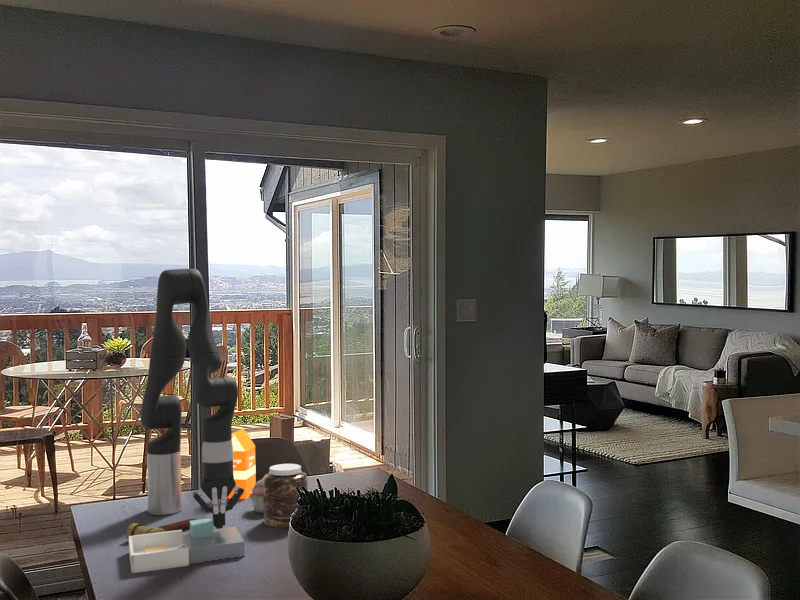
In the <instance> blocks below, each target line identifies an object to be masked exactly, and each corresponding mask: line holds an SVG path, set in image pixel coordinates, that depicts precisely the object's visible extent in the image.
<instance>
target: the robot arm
mask: <svg viewBox="0 0 800 600" xmlns="http://www.w3.org/2000/svg"><path fill="white" fill-rule="evenodd" d="M183 304H186V305H187V304H192V306H193V309H194V310H193V311H194V317H193V321H192V324H191V327H190V329H189V332H188V335H187V340H186V338H185V335H184V333H183V331H182V330H181V328H180V327H179V326H178V323H177V321H175V318H174V314H173V310H174V309H173V308H174V306H175V305H183ZM210 315H211V314H210V309H209V302H208V297H207V290H206V285H205V281H204V279H203V275H202V274H201V272H200V271H199V270H198V269H197V268H174V269H165V270H162V272H161V273H160V275H159V277H158V282H157V291H156V312H155V323H154V330H153V336H152V342H151V347H150V353H149V354H150V355H149V365H148V372H147V380H146V383H145V384H146V385H145V390H144V393H143V397H142V402H141V407H140V422H141V425H142V427H143V428H144V429H146V430H160V429H166V430H165V432H163V434H161V435H160V436H158V437H156V438H154V439H152V440H149V442H147V445H146V455H147V456H146V460H147V467H146V468H147V512H148V514H149V515H151V516H152V515H153V516H154V515H155V516H166V515H172V514H176V513H178V512H180V511H181V510H182V467H181V466H182V464H181V463H182V462H181V440H182V439H181V438H182V433H181V432H182V410H183V409H182V404H181V400H180V397H178V396H177V395H175V394H173V395H170V394H169V395H161V394H162V392H163V390H164V389H165V387H167V385H168V384H169V383H170V382H171V381H172V380H173V379H174V378H175V377H176V376H177V375H178V374H179V372H180V371H181V370H182V368H183V367H184V363H185V360H186V354H187V352H186V351H188V353H189V357H190V361H191V363H192V364H191V365H192V368H193V379H194V380H193V382H194V383H193V384H194V385H193V387H194V388H193V395H194V399H195V402H196V403H197V404H198V405H199V406H200V407H202V408H205V409H207V408H213V407H218V408H217V411H216V412H215V413H213V414H211V415H209V416H207V417H204V419H203V420H202V447H201V463H202V464H201V466H202V467H201V470H202V471H201V472H202V474H201V475H202V479H201V484H200V487H199V488H198V489H197V490H196V491H193V492H192V497H193V499H194V500H195V501H196V502H197V503H198V504H199V505H200V506H201V508H202V509H204V511H205V512H206V513H208V514H209V513H211V514H212V522H213V528H215V529H221V528H224V526H225V525H226V513H227V512H229V511H231V510H233V508H234V507H235V505H236V504H237V503H238V501H239V500H240V499H239V498H240V497H241V496H242V494H243V493H244V489H243V488H242V487H239V486H238V485H236V482H235V480H234V474H233V457H234V453H233V445H232V435H233V434H232V429H233V428H232V424H233V418H234V414H235V410H236V405H237V402H238V398H239V387H238V384H237V382H236V381H235V380H234V378H233V377H230V376H220V377H210V376H209V375H211V374H213V373H216V372H217V371H219V370H220V369H221V368H222V365H223V364H222V363H223V362H222V358H221V355H220V352H219V349H218V346H217V345H218V344H217V343H216V340H215V336H214V332H213V328H212V322H211V316H210ZM233 489H234V490H233ZM232 490H233V493H234V494H233V496H232V497H231V498H230V499H228V501H227V497H228V496H229V495H230V493H231V492H232ZM204 494H205V495H206V497H207V498H208V499H209V500H210V504H211V505H209V504H208V503H207V502H206V501H205V500H204V499H203V498H204Z"/></svg>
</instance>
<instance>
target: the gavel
mask: <svg viewBox="0 0 800 600" xmlns="http://www.w3.org/2000/svg"><path fill="white" fill-rule="evenodd" d="M192 520H200V519H199V518H198V519H197V518H188V519H184V520H180V521H177V522H173V523H168V524H164V525H160V526H158V527H150V526H146V525H145V526H144V525H143V524H141V523H138V522H133V523H131V524H130V525H129V526H128V527H127V529H126V532H125V536H126V537H125V538H126V540H127V541H129V536H134V535H143V534H151V533H159V532H167V531H176V530H182V532H183V531H186V530H190V521H192Z"/></svg>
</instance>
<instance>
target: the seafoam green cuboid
mask: <svg viewBox="0 0 800 600" xmlns="http://www.w3.org/2000/svg"><path fill="white" fill-rule="evenodd" d="M213 529H214V525H213V520H212V518H211V517H210V518H203V519H200V520H199V519H198V520H192V521H190V528H189V532H190V534H191V537H192V539H195V538H202V537H210V536H214V534H213Z"/></svg>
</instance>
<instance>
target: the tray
mask: <svg viewBox="0 0 800 600" xmlns="http://www.w3.org/2000/svg"><path fill="white" fill-rule="evenodd" d="M182 533H183V531H182V530H176V531H167V532H159V533H151V534H143V535H134V536H129V540H128V555H129V564H130V565H131V566H130V571H131V572H130V573H131V574H137V573H145V572H152V571H159V570H160V571H161V570H167V569H174V568H180V567H181V568H182V567H189V566H190V564H189V548H183V545H182ZM161 544H166V545H167V549H168V550H165V551H157V552H150V553H144V546H153V545H161Z"/></svg>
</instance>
